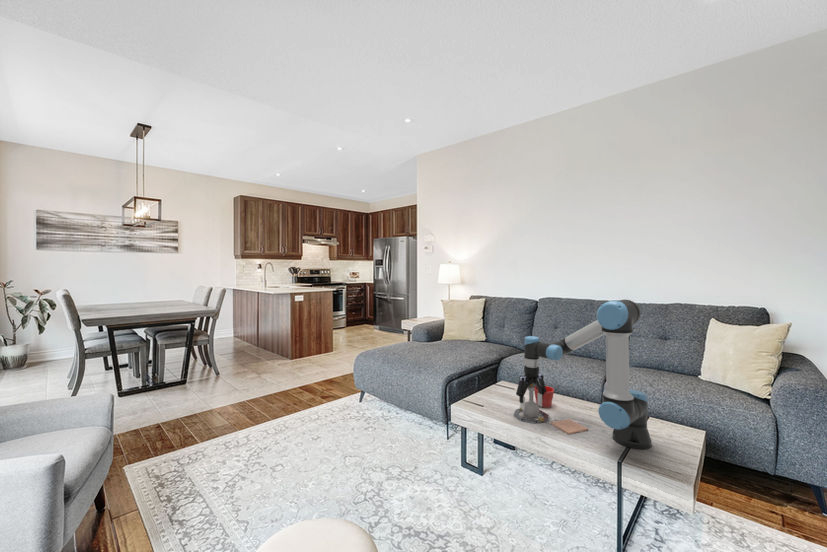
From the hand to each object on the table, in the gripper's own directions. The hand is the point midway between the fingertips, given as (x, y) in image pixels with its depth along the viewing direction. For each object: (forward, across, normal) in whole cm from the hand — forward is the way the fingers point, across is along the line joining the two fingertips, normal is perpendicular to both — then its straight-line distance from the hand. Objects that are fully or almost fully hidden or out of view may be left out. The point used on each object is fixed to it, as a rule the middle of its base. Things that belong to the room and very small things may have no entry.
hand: (531, 407), depth 187 cm
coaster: (+5, -9, +17) cm, 20 cm away
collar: (+5, 0, 0) cm, 5 cm away
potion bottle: (+5, 0, 0) cm, 5 cm away
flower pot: (+5, -17, -10) cm, 20 cm away
